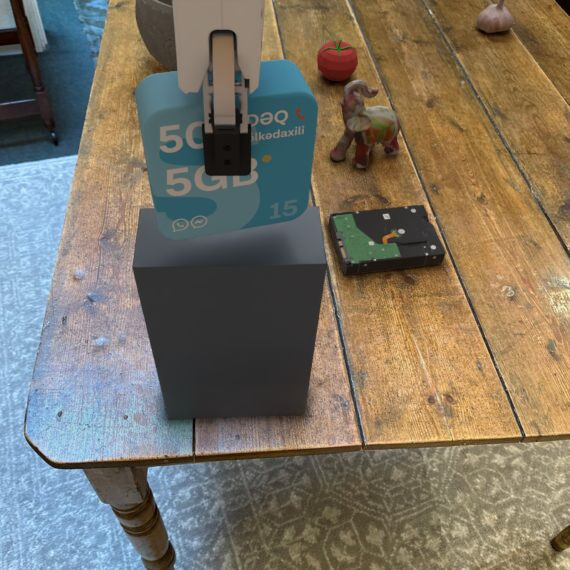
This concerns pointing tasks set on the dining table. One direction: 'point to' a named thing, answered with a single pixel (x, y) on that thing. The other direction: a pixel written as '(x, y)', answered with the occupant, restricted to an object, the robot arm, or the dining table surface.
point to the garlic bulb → (495, 18)
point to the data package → (228, 189)
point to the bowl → (158, 30)
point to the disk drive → (385, 239)
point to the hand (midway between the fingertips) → (228, 143)
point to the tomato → (337, 60)
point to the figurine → (365, 125)
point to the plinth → (232, 315)
